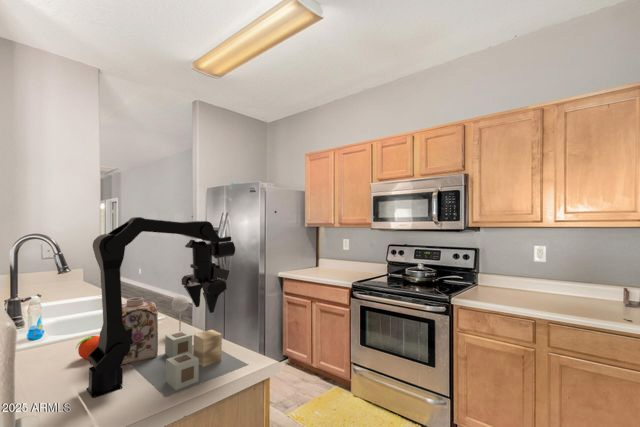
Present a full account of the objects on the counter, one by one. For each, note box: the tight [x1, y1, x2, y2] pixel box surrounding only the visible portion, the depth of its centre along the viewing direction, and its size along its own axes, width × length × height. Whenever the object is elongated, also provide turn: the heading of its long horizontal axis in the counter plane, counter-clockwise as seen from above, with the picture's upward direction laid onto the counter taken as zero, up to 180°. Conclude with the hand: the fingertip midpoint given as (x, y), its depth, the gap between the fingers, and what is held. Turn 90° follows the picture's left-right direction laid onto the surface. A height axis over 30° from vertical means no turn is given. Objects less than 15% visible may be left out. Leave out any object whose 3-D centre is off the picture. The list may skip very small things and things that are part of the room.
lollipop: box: [171, 294, 190, 332], centre depth 120 cm, size 6×6×15 cm
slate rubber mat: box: [129, 344, 249, 398], centre depth 96 cm, size 24×26×1 cm
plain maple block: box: [193, 329, 223, 367], centre depth 98 cm, size 6×6×8 cm
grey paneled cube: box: [166, 352, 199, 390], centre depth 85 cm, size 6×6×6 cm
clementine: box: [75, 335, 100, 361], centre depth 99 cm, size 8×7×7 cm
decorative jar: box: [121, 296, 159, 366], centre depth 102 cm, size 12×12×18 cm
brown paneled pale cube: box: [164, 330, 193, 358], centre depth 103 cm, size 6×6×6 cm
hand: (204, 309), depth 102 cm, fingers open, 9 cm apart
